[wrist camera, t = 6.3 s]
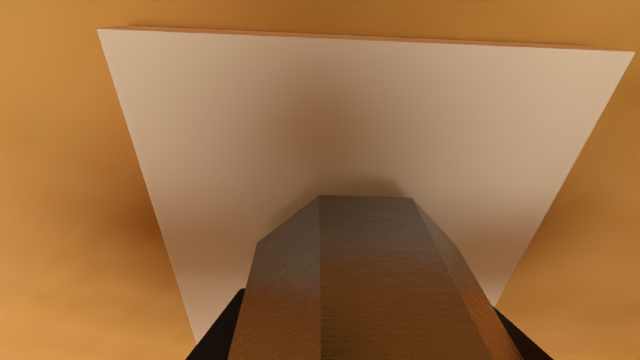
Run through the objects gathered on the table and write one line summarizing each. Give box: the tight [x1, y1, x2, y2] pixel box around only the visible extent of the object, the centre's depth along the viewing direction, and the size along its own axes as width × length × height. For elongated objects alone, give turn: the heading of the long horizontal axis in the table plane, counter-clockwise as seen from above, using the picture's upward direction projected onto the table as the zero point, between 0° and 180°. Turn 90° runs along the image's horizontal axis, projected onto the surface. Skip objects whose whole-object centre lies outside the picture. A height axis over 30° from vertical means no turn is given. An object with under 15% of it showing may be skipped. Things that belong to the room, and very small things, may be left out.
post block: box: [97, 26, 635, 344], centre depth 9 cm, size 14×14×8 cm
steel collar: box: [227, 195, 523, 360], centre depth 8 cm, size 6×6×5 cm
